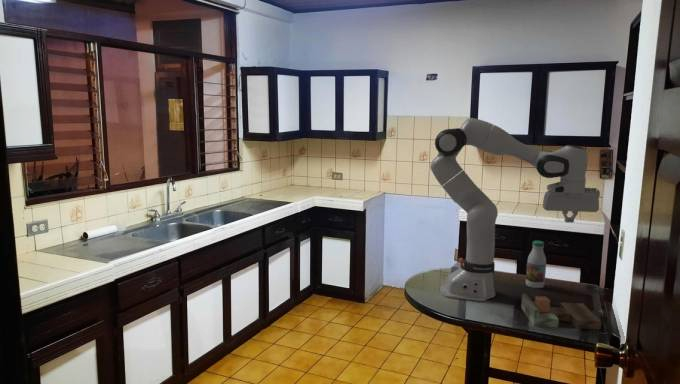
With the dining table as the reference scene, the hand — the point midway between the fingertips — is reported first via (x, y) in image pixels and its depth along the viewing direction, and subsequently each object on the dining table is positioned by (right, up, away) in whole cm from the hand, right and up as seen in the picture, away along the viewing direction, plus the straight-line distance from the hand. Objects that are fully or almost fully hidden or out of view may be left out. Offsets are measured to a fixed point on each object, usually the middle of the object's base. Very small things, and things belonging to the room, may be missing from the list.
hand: (569, 222), depth 189 cm
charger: (-31, -27, +40) cm, 57 cm away
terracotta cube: (-15, -32, -10) cm, 36 cm away
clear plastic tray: (-8, -35, -9) cm, 37 cm away
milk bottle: (-4, -30, +24) cm, 38 cm away
